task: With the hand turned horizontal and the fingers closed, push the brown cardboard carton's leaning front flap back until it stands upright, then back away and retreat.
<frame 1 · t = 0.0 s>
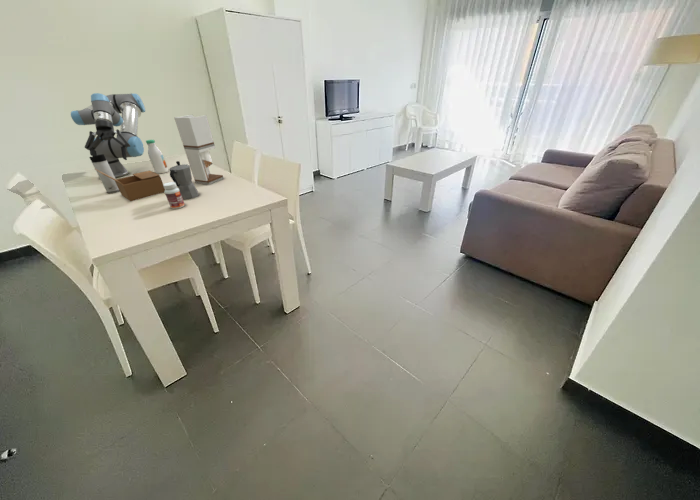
hand: (110, 160, 153), 15 cm above the table, tool tilted 35°, fingers open, 13 cm apart
drip coffee maker: (209, 181, 168), on the table
travel mug: (114, 191, 155), on the table
pill bottle: (178, 207, 135), on the table
carton: (144, 193, 152), on the table
flap: (108, 176, 138), point 12 cm above the table, hinge at 130.0°
milk bottle: (162, 172, 186), on the table
coffeepot: (188, 197, 146), on the table
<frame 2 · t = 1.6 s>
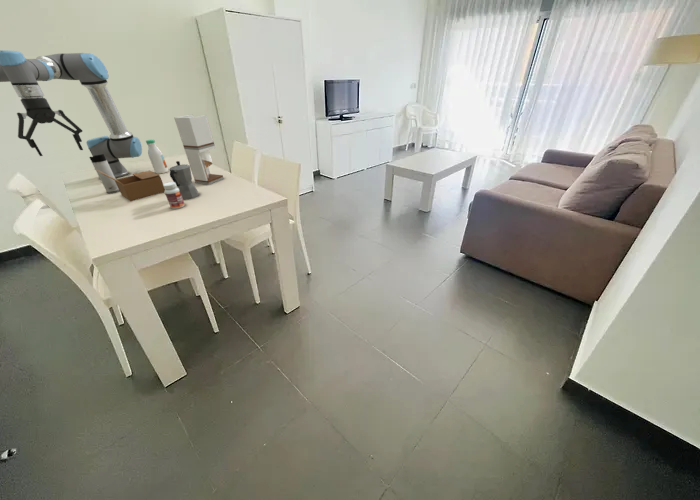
hand: (62, 152, 124), 26 cm above the table, tool pointing down, fingers open, 13 cm apart
nothing on the table moved.
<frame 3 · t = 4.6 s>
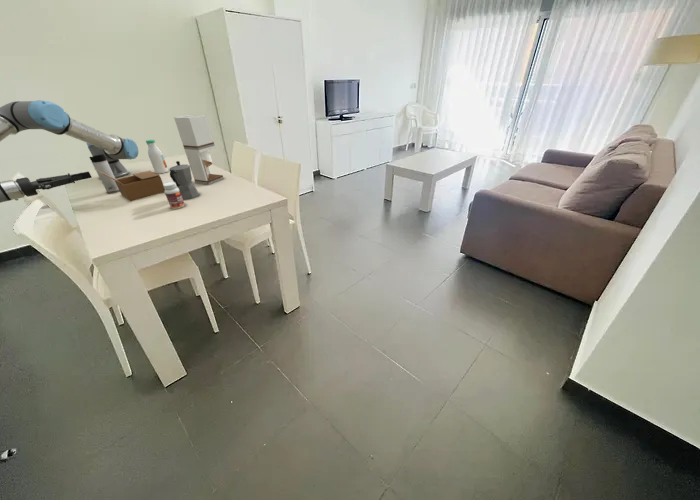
hand: (90, 174, 132), 15 cm above the table, tool horizontal, fingers closed
nothing on the table moved.
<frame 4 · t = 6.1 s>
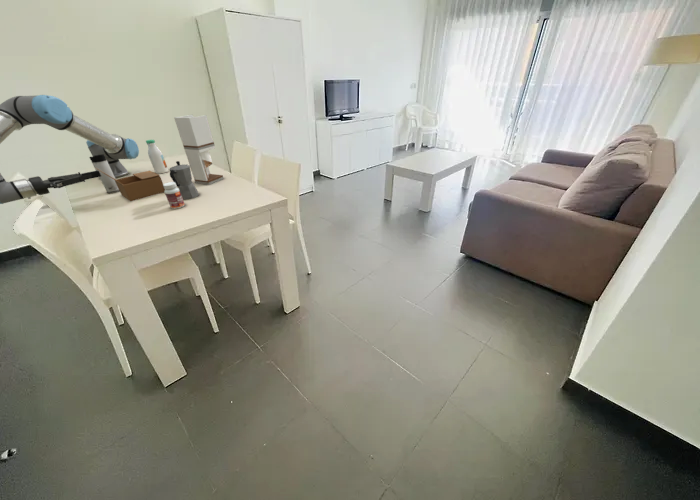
hand: (99, 173, 135), 14 cm above the table, tool horizontal, fingers closed
flap: (108, 175, 138), point 13 cm above the table, hinge at 126.3°, touching gripper
everything else where it was.
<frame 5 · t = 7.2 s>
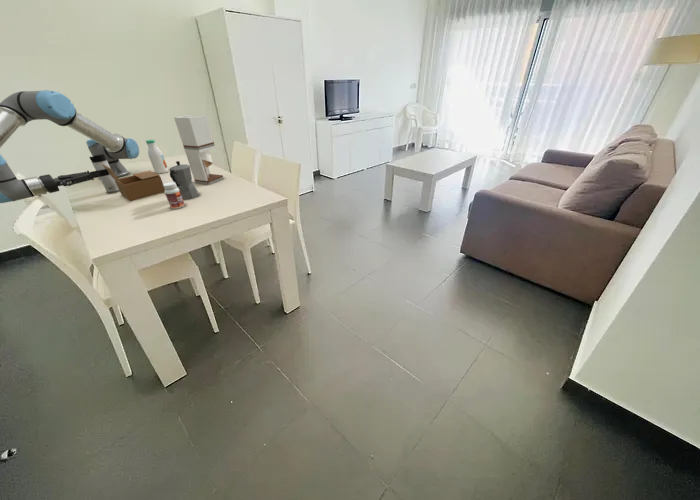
hand: (107, 171, 137), 14 cm above the table, tool horizontal, fingers closed
flap: (111, 173, 138), point 13 cm above the table, hinge at 103.6°, touching gripper
everything else where it was.
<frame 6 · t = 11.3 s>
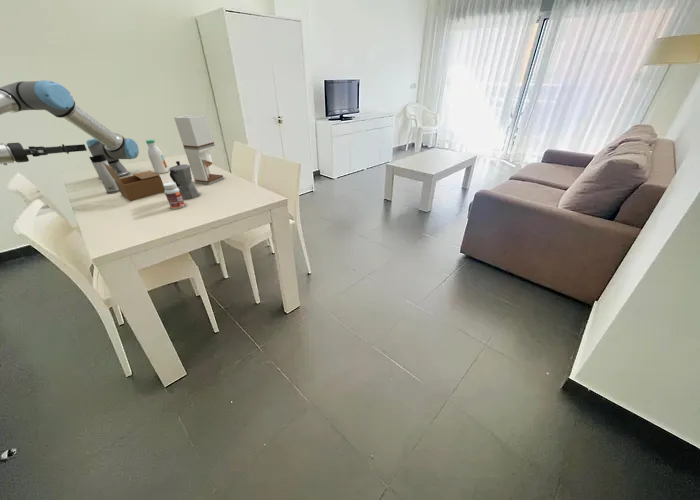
hand: (85, 147, 130), 26 cm above the table, tool horizontal, fingers closed
flap: (112, 173, 139), point 13 cm above the table, hinge at 97.7°
everything else where it was.
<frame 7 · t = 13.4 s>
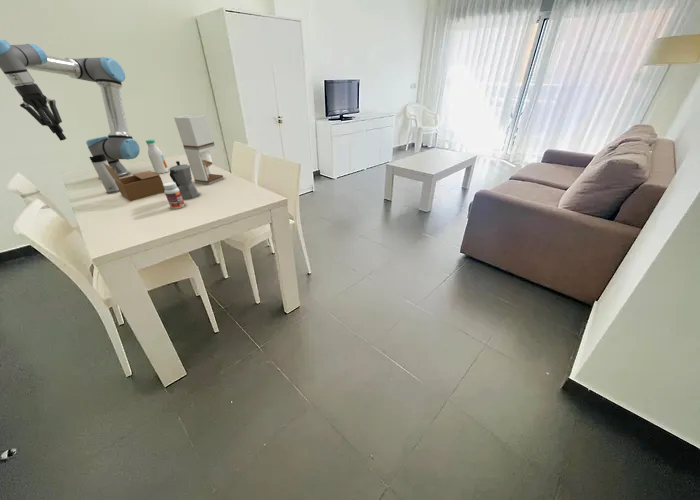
hand: (63, 139, 137), 28 cm above the table, tool pointing down, fingers closed
nothing on the table moved.
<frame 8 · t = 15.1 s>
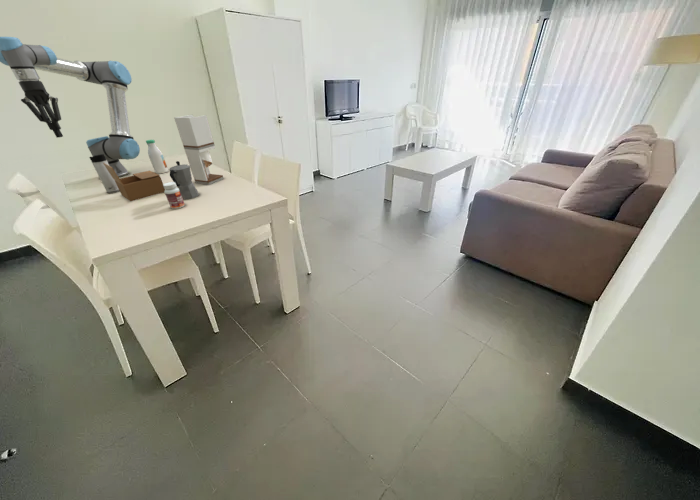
hand: (59, 136, 137), 29 cm above the table, tool pointing down, fingers closed
nothing on the table moved.
at the end: flap at +98° (first picture: +130°); travel mug moved 0.2 cm from its start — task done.
